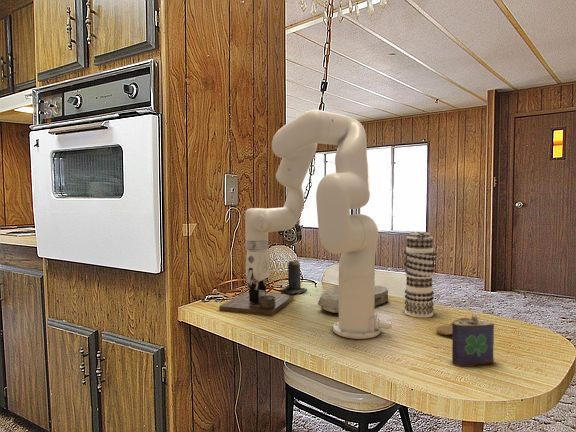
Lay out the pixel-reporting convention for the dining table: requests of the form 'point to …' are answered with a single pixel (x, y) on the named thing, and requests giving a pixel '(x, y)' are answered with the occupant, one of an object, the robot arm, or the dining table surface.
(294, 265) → the dark post with base
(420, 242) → the decorative candle
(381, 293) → the fossil stone
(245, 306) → the board
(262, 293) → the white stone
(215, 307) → the dining table surface
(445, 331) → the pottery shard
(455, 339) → the flask
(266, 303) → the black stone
